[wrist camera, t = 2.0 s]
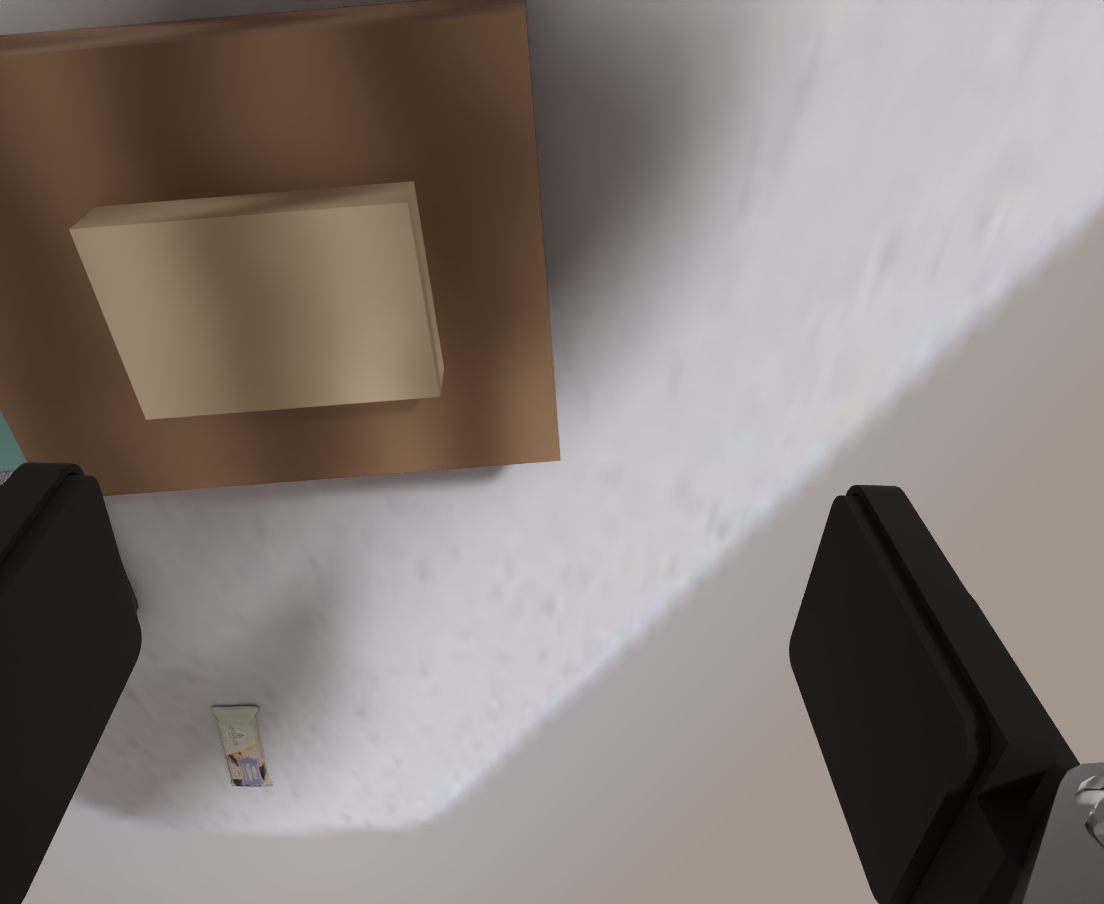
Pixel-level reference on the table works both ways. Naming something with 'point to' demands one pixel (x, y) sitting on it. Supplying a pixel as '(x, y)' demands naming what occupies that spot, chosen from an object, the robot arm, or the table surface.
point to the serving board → (265, 167)
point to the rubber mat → (9, 448)
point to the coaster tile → (267, 299)
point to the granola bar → (242, 745)
